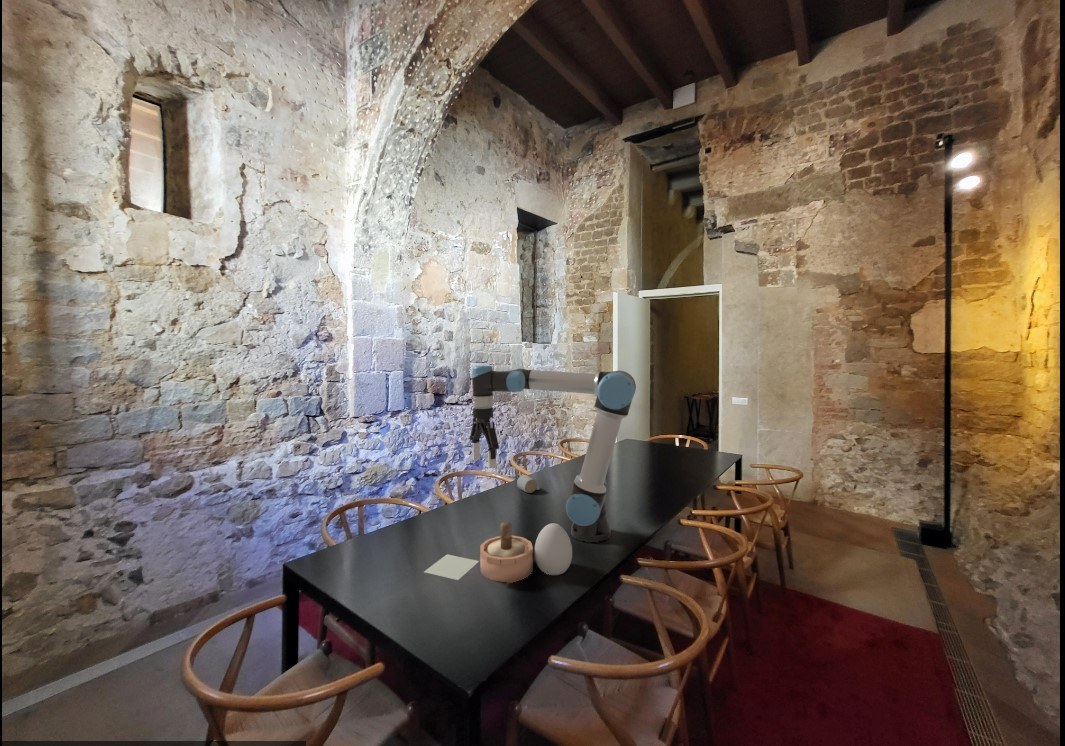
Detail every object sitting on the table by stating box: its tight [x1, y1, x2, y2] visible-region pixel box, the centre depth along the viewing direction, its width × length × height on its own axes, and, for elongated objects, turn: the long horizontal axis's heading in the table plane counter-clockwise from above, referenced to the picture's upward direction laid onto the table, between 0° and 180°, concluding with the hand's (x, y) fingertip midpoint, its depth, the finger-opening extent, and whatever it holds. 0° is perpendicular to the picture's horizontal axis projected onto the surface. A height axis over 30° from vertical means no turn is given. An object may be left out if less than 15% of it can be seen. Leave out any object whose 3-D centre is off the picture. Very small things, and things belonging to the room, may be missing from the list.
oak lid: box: [488, 521, 525, 558], centre depth 143 cm, size 12×12×9 cm
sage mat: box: [423, 554, 480, 581], centre depth 145 cm, size 13×13×1 cm
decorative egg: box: [533, 522, 573, 576], centre depth 143 cm, size 12×12×15 cm
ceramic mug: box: [516, 474, 541, 494], centre depth 221 cm, size 11×8×8 cm
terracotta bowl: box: [479, 534, 534, 584], centre depth 144 cm, size 17×17×8 cm
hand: (484, 463), depth 166 cm, fingers open, 13 cm apart
